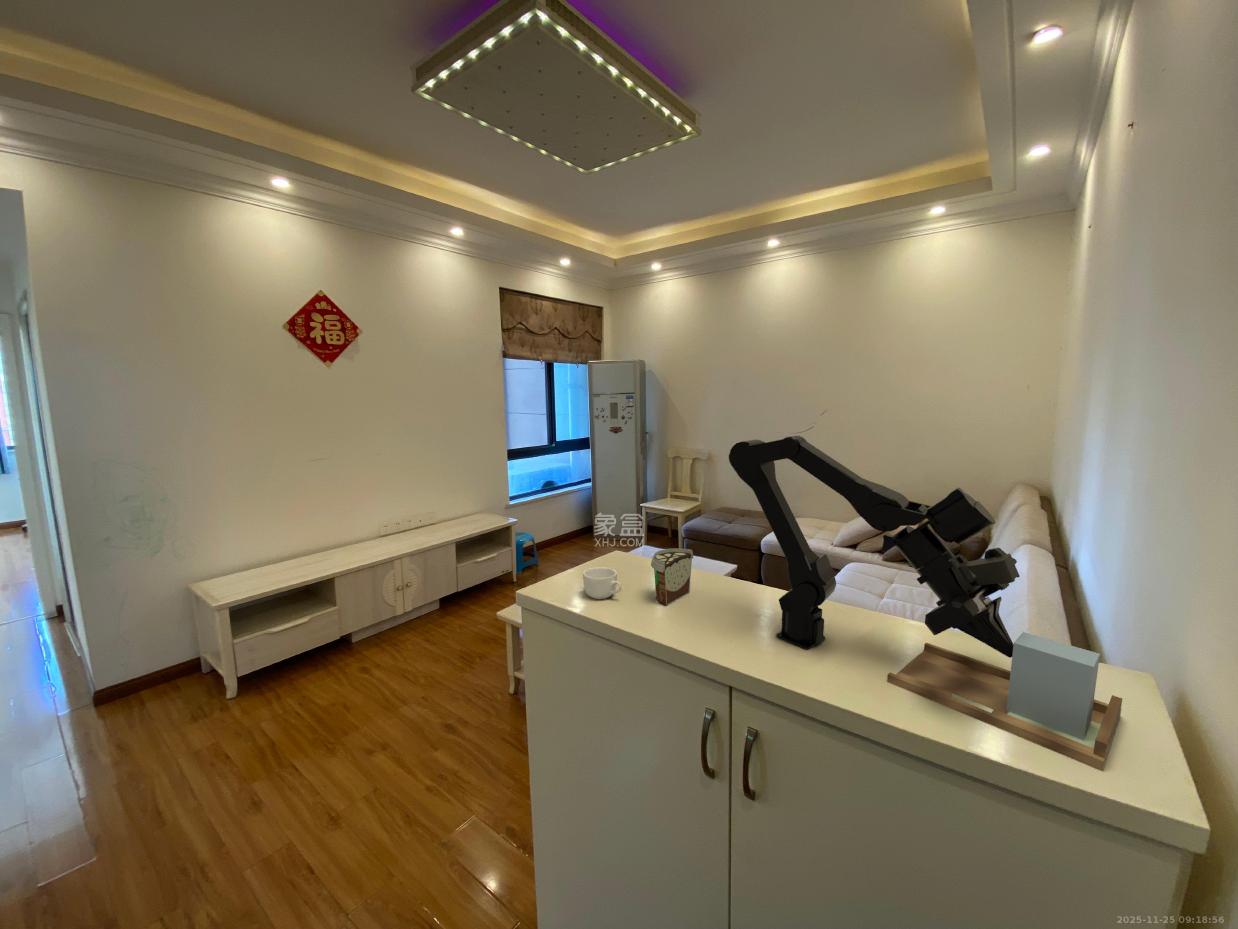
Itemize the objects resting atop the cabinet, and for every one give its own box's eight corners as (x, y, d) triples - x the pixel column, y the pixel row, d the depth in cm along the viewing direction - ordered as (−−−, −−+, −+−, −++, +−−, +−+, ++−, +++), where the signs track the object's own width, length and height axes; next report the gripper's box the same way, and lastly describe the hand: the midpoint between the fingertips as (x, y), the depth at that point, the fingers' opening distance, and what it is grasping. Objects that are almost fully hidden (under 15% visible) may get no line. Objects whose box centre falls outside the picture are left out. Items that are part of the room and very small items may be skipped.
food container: (670, 585, 119) (671, 544, 117) (692, 591, 115) (693, 549, 113) (639, 601, 109) (639, 557, 108) (662, 608, 105) (663, 563, 104)
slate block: (1006, 710, 69) (1013, 642, 68) (1015, 696, 72) (1023, 632, 71) (1083, 740, 63) (1093, 667, 62) (1090, 724, 66) (1100, 653, 65)
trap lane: (886, 687, 76) (888, 663, 76) (925, 654, 86) (927, 632, 86) (1101, 778, 58) (1105, 747, 58) (1119, 723, 68) (1123, 696, 67)
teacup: (575, 596, 112) (575, 573, 111) (598, 586, 118) (598, 564, 117) (609, 607, 106) (609, 583, 105) (631, 596, 112) (631, 573, 111)
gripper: (958, 544, 66) (1057, 655, 59) (998, 522, 78) (1085, 612, 71) (891, 584, 73) (973, 687, 66) (937, 558, 85) (1011, 643, 78)
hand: (1013, 655), depth 70 cm, fingers closed, pressing on slate block
